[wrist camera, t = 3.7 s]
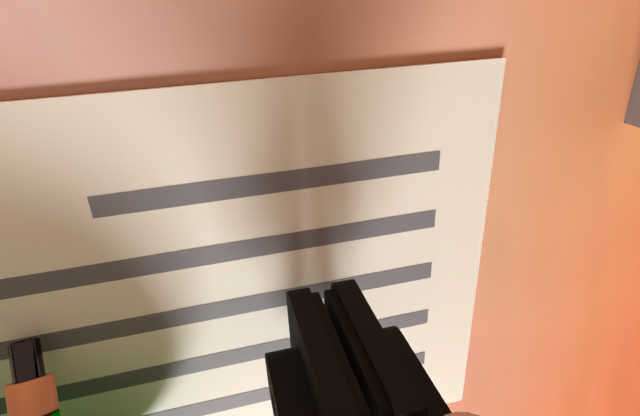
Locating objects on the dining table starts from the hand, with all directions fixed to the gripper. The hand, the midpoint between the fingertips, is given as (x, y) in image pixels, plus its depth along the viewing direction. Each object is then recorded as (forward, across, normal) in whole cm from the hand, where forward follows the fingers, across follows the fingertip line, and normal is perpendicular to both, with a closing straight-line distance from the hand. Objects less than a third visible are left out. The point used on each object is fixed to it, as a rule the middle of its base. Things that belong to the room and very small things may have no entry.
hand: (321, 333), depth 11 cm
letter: (+1, +4, 0) cm, 4 cm away
